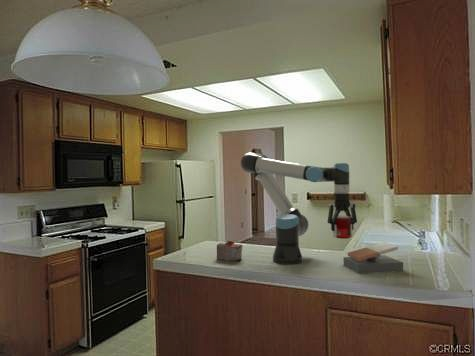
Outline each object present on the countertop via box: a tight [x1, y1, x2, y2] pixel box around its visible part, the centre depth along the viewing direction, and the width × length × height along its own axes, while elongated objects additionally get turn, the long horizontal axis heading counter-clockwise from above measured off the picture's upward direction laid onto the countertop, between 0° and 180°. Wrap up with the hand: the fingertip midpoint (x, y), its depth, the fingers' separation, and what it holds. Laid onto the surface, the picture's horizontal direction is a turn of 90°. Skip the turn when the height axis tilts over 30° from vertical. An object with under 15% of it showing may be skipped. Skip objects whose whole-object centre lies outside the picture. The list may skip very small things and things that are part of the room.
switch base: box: [343, 254, 404, 274], centre depth 154 cm, size 22×14×6 cm, turn 99°
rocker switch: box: [347, 242, 399, 261], centre depth 154 cm, size 20×10×2 cm, turn 99°
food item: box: [216, 240, 243, 262], centre depth 172 cm, size 14×8×10 cm, turn 69°
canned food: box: [335, 214, 351, 240], centre depth 168 cm, size 8×8×11 cm
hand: (342, 236), depth 168 cm, fingers closed on canned food, 8 cm apart
